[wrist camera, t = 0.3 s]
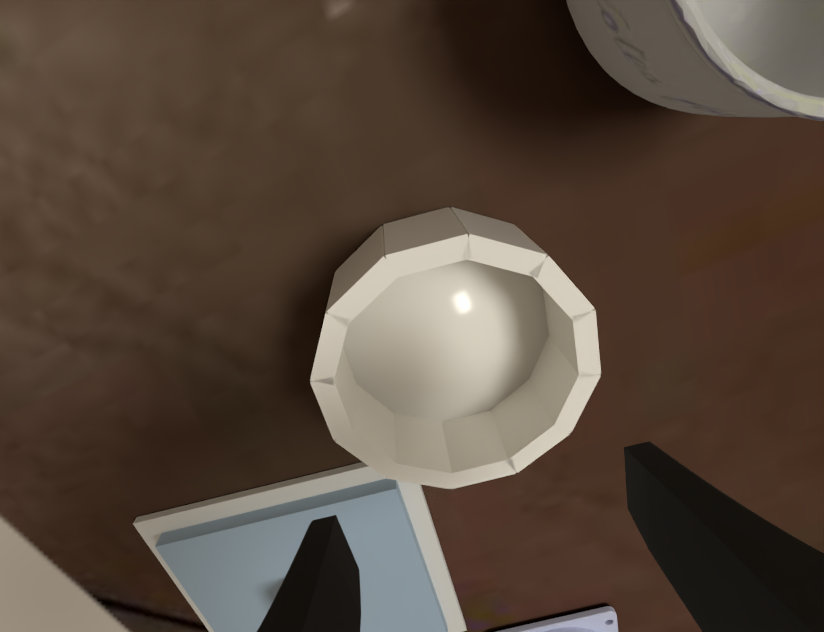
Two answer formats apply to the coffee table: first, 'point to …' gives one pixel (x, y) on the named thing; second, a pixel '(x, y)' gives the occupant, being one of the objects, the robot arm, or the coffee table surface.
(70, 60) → the coffee table surface
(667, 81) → the teacup
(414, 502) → the mat
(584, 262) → the coffee table surface
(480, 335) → the bowl
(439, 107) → the coffee table surface
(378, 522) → the cover
